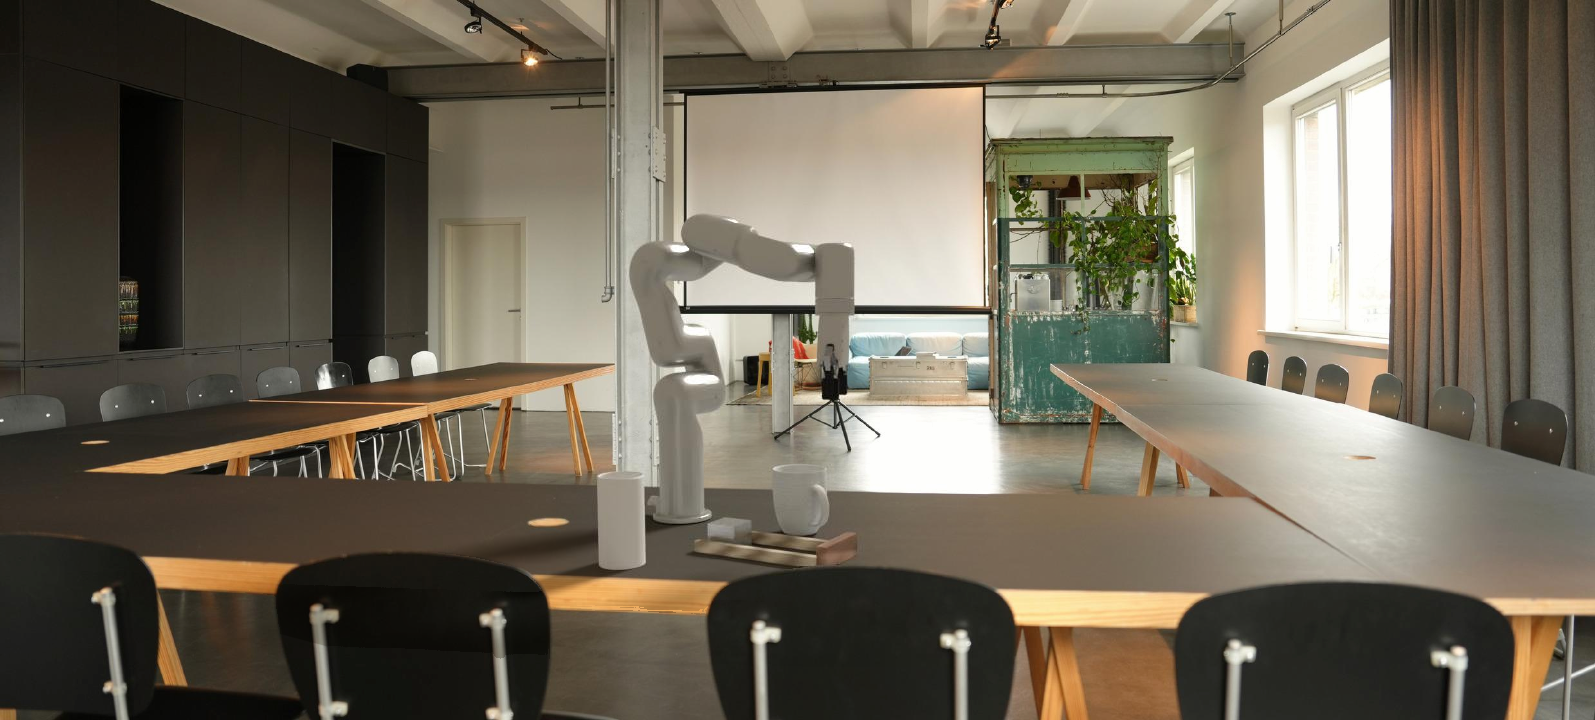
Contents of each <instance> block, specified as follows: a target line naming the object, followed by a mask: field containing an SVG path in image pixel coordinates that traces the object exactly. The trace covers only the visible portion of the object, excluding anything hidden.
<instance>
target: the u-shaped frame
mask: <svg viewBox="0 0 1595 720" xmlns="http://www.w3.org/2000/svg"><path fill="white" fill-rule="evenodd" d="M751 534H752V544H757V545H766V546H772V547H778V548H787V549H793V550H800V551H802V550H803V551H810V552H815V553H816V554H809V553H803V552H802V553H801V552H797V551H786V550H780V549H773V548H765V547H758V546H745V545H737V544H730V543H722V542H715V541H708V539H699V538H698V539H696V540H694V541H693V551H694V552H695V553H701V554H708V555H716V556H723V557H730V558H736V559H743V560H751V561H757V562H763V563H765V562H766V563H771V564H777V565H778V564H779V565H784V566H785V565H786V566H792V567H799V566H815V565H833V564H838V565H840V564H842V563H844V562H846V561H848V560H851V559H852V558H854V557H856V556H857V555H858V533H857V532H851V531H846V532H845V533H842V534H840V535H838V536H836V537H834V538H831V539H829V540H827V539H821V538H814V537H813V538H812V537H806V536H805V537H804V536H794V535H788V534H784V533H783V534H782V533H773V532H766V531H757V530H751ZM799 568H800V567H799Z"/></svg>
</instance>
